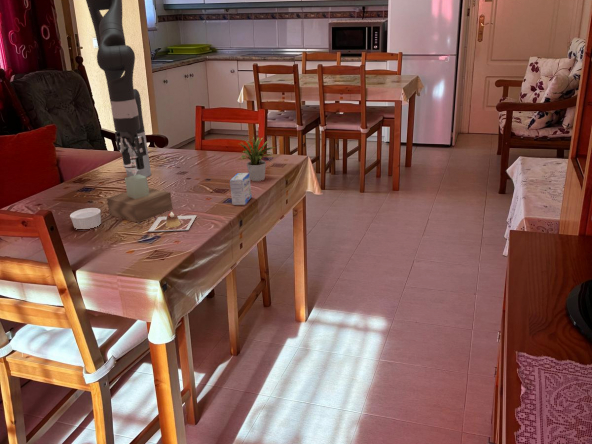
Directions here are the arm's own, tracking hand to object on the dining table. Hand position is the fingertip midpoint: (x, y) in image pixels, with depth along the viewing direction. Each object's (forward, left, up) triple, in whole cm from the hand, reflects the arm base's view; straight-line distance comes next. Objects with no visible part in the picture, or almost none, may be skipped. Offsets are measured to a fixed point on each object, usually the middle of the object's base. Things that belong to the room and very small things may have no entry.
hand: (134, 166), depth 179 cm
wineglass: (-23, +11, -15) cm, 30 cm away
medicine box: (+18, +27, -15) cm, 36 cm away
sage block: (0, 0, -9) cm, 9 cm away
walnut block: (0, 0, -15) cm, 15 cm away
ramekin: (-2, -17, -15) cm, 23 cm away
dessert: (+19, 0, -16) cm, 24 cm away
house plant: (+3, +45, -15) cm, 47 cm away
